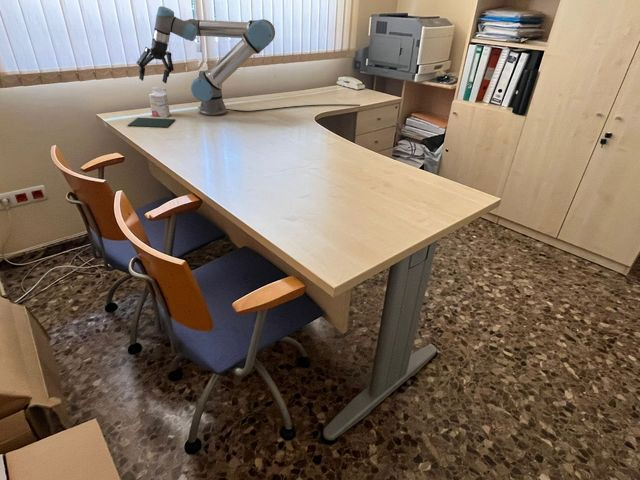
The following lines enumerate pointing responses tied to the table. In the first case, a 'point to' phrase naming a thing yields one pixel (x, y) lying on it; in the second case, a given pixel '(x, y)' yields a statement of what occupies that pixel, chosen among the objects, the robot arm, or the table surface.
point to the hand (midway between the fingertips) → (153, 80)
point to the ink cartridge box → (159, 102)
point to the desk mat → (152, 122)
